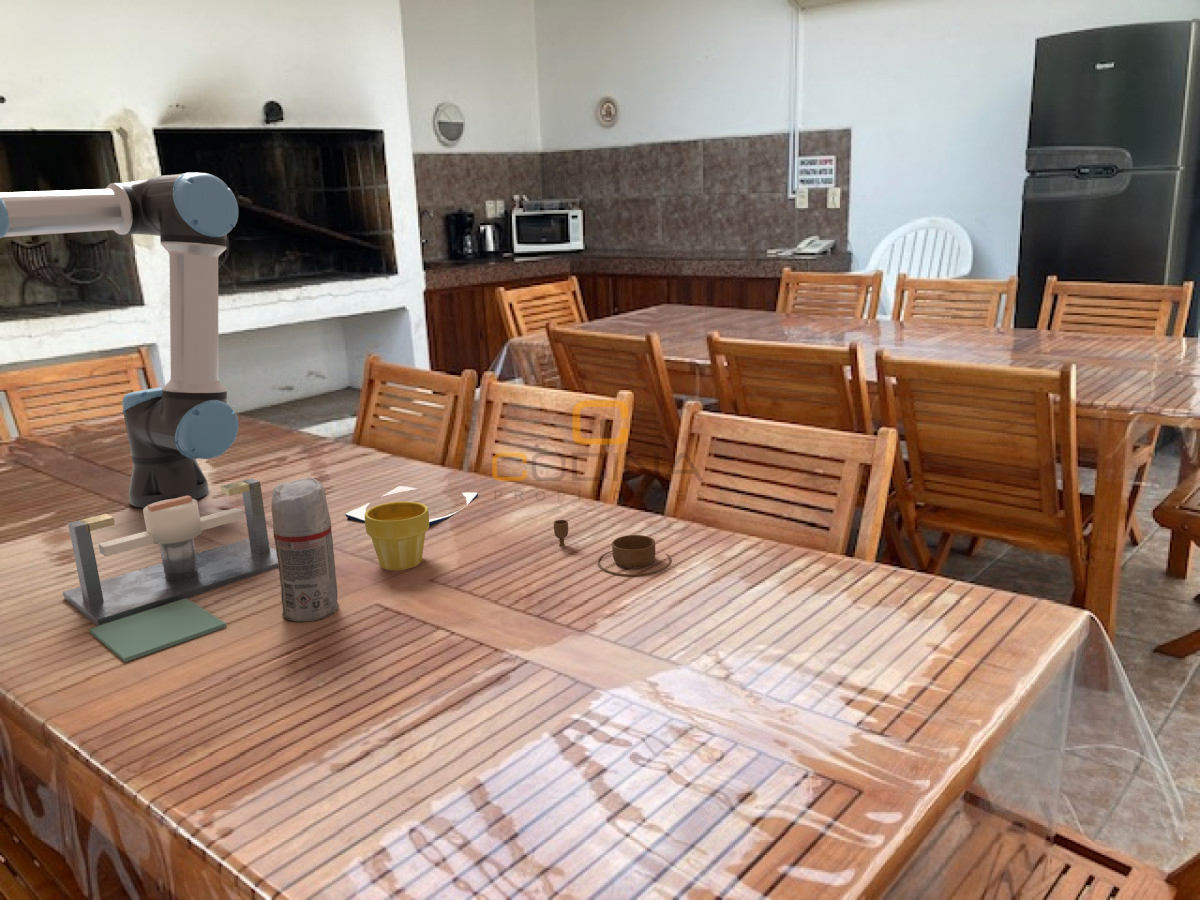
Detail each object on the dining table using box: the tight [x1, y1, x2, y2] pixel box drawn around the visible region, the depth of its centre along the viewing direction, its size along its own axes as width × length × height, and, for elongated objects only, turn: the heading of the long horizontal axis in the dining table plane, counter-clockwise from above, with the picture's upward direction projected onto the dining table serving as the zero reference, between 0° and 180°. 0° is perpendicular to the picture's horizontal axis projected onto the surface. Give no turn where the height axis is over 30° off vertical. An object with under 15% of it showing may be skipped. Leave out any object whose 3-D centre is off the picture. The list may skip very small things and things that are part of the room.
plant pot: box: [364, 500, 430, 571], centre depth 155 cm, size 10×10×10 cm
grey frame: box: [62, 478, 278, 627], centre depth 152 cm, size 31×16×14 cm, turn 135°
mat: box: [89, 598, 227, 663], centre depth 135 cm, size 14×14×1 cm
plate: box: [344, 485, 479, 527], centre depth 182 cm, size 20×20×3 cm
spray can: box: [271, 476, 340, 622], centre depth 137 cm, size 8×8×20 cm
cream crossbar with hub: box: [98, 495, 245, 557], centre depth 151 cm, size 22×8×6 cm, turn 135°
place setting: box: [553, 519, 672, 578], centre depth 154 cm, size 18×20×6 cm
